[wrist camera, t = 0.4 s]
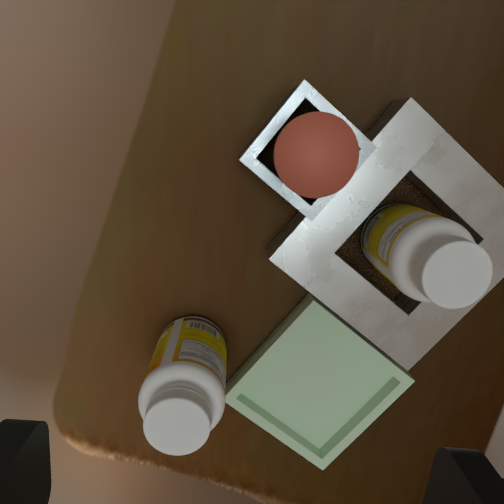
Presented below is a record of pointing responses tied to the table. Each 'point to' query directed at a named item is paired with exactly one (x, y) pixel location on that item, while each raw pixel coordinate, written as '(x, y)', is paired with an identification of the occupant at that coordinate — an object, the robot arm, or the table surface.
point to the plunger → (316, 154)
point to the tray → (316, 383)
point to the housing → (364, 202)
